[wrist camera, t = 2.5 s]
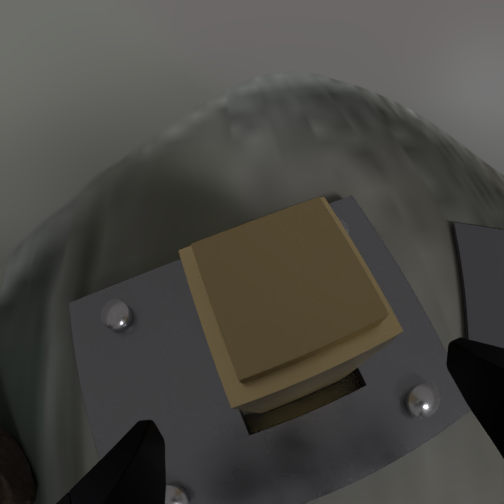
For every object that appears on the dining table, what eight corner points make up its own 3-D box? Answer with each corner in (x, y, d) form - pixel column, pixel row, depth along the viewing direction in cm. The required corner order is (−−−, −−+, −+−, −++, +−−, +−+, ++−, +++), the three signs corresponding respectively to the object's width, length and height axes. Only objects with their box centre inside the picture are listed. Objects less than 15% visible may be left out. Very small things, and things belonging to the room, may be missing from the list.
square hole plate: (462, 410, 15) (478, 407, 13) (139, 534, 13) (125, 542, 11) (349, 205, 23) (353, 188, 22) (77, 309, 21) (62, 298, 20)
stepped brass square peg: (340, 380, 17) (413, 322, 7) (261, 413, 17) (226, 406, 7) (306, 309, 20) (325, 180, 10) (232, 338, 19) (170, 236, 9)
